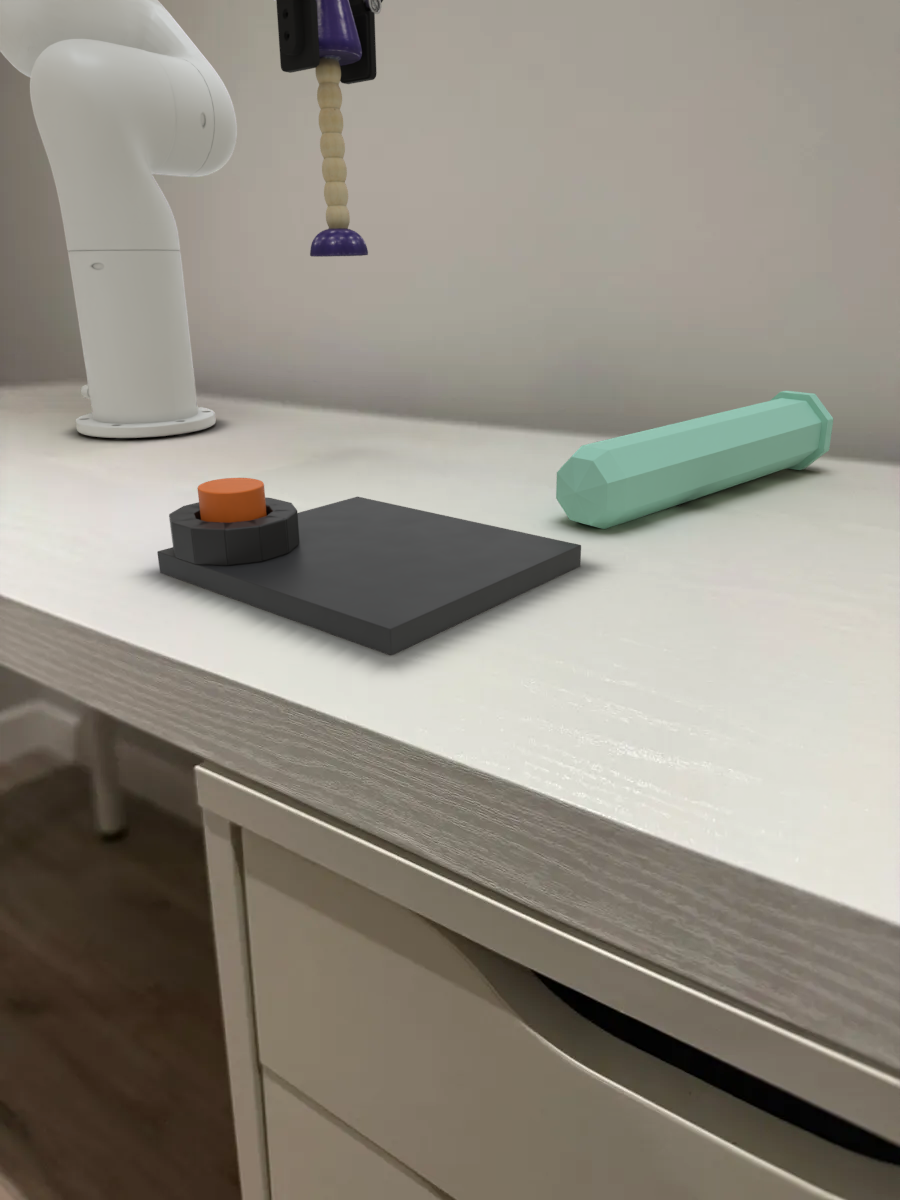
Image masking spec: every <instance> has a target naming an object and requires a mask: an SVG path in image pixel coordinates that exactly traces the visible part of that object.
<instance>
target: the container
mask: <svg viewBox="0 0 900 1200" xmlns="http://www.w3.org/2000/svg"><path fill="white" fill-rule="evenodd" d="M833 424H834V417H833V416H832V415H831V413H830V412H829V411H828V409H827V408H826V406H825V405H824V403H823V402H822V401H821V400H820V398H819V397H818V396H817V394H816V393H812V392H803V391H802V392H801V391H793V390H783V391H779V392H778V393H777V394H776V395H775V396H773V397H772V398H771V399H770V400H767V401H763V402H759V403H754V404H751V405H750V404H749V405H747V406H743V407H737V408H734V409H729V410H725V411H721V412H718V413H712V414H707V415H705V416H701V417H700V416H699V417H696V418H692V419H687V420H683V421H678V422H675V423H669V424H667V425H663V426H657V427H654V428H650V429H645V430H641V431H637V432H633V433H628V434H625V435H620V436H615V437H612V438H609V439H608V438H607V439H604V440H600V441H595V442H590V443H587V444H582V445H581V446H580V447H579V448H578V449H576V451H575V452H574V453H573V454H572V455H571V456H570V457H569V458H568V459H567V461H565V463H564V464H563V465H562V466H561V467H560V468H559V469H558V470H557V471H556V484H555V485H556V488H555V489H556V490H555V499H556V501H557V502H558V504H559V506H560V507H561V508H562V510H563V512H564V513H565V515H566V517H567V518H568V520H569V521H573V522H576V523H579V524H583V525H586V526H590V527H594V528H597V529H602V530H605V529H609V528H613V527H615V526H618V525H621V524H625V523H628V522H631V521H634V520H637V519H640V518H642V517H646V516H649V515H651V514H655V513H658V512H661V511H664V510H667V509H670V508H673V507H676V506H678V505H681V504H684V503H687V502H690V501H693V500H696V499H699V498H702V497H705V496H708V495H711V494H714V493H717V492H721V491H723V490H726V489H729V488H731V487H735V486H738V485H741V484H744V483H747V482H750V481H752V480H753V481H754V480H756V479H758V478H761V477H765V476H769V475H771V474H774V473H777V472H780V471H782V470H785V469H788V470H789V469H790V470H795V471H803V470H805V469H806V468H808V467H810V465H812V464H813V463H814V462H816V461H817V460H818V459H819V458H821V457H823V456H824V455H825V454H826V453H827V452H829V451H830V448H831V439H832V433H833V427H834V426H833Z"/></svg>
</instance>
